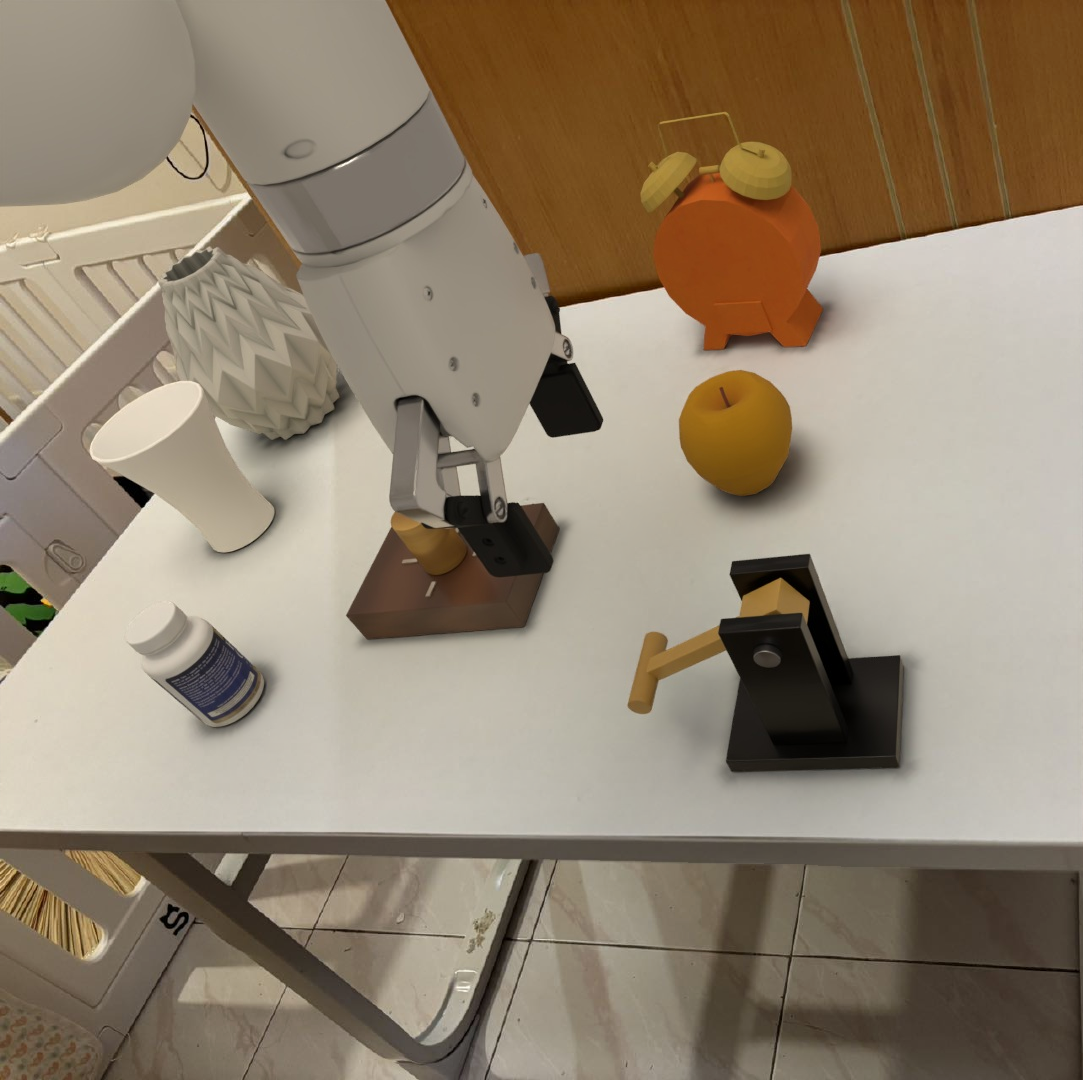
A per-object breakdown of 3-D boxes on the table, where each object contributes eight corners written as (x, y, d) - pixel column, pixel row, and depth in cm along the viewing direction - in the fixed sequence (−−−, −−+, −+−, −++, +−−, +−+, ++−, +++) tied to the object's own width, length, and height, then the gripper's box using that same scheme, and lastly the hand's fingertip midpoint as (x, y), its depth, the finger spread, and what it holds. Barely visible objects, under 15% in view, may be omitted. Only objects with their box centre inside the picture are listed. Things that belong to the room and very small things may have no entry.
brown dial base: (366, 639, 79) (344, 614, 77) (412, 545, 85) (392, 519, 83) (524, 627, 74) (505, 599, 72) (559, 528, 81) (543, 500, 79)
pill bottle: (279, 671, 79) (198, 591, 73) (243, 729, 76) (155, 651, 69) (227, 671, 81) (144, 593, 75) (190, 728, 78) (99, 652, 71)
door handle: (646, 721, 59) (616, 701, 58) (662, 652, 63) (634, 632, 61) (803, 655, 52) (772, 630, 51) (812, 581, 55) (784, 557, 54)
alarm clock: (842, 304, 90) (783, 84, 77) (822, 346, 87) (757, 124, 73) (710, 311, 96) (634, 109, 83) (687, 352, 93) (604, 147, 79)
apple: (823, 492, 74) (792, 399, 68) (715, 534, 75) (676, 446, 69) (792, 427, 81) (761, 336, 75) (693, 466, 81) (655, 380, 75)
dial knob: (457, 573, 76) (422, 525, 72) (417, 577, 77) (380, 529, 74) (473, 538, 78) (439, 489, 75) (434, 542, 80) (399, 494, 76)
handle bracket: (731, 772, 60) (663, 652, 52) (747, 675, 65) (687, 552, 57) (899, 768, 57) (854, 639, 49) (903, 666, 61) (863, 534, 54)
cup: (304, 524, 93) (209, 412, 84) (199, 588, 91) (91, 480, 82) (283, 473, 100) (195, 364, 91) (187, 530, 98) (86, 426, 89)
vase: (315, 467, 99) (191, 311, 87) (204, 466, 106) (75, 321, 94) (401, 362, 109) (300, 208, 96) (293, 367, 116) (187, 224, 104)
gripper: (370, 100, 45) (533, 395, 57) (171, 329, 34) (427, 641, 45) (517, 58, 43) (656, 375, 54) (356, 289, 31) (576, 629, 43)
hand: (552, 496), depth 50 cm, fingers open, 9 cm apart
